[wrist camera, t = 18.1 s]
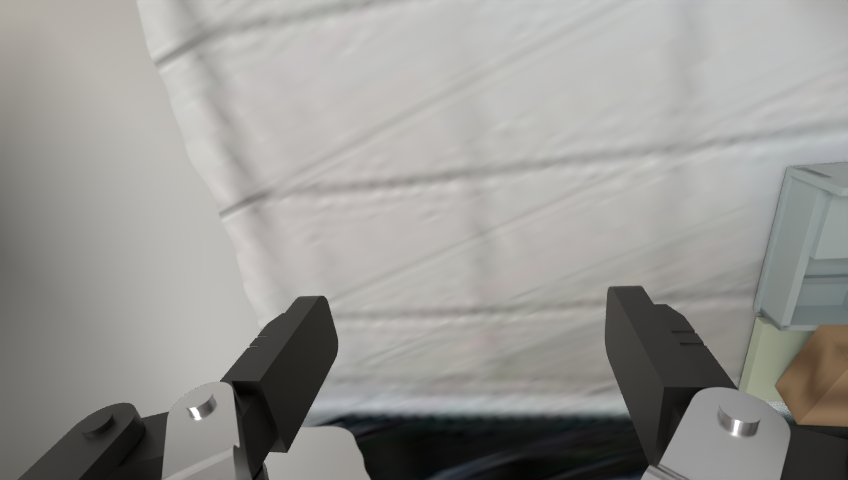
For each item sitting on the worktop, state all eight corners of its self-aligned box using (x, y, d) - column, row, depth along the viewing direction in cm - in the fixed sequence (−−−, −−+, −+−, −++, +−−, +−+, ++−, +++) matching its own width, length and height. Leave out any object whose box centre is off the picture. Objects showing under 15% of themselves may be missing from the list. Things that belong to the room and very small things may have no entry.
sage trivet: (756, 316, 40) (763, 324, 39) (876, 315, 38) (887, 322, 37) (737, 392, 44) (743, 400, 43) (845, 394, 42) (854, 403, 41)
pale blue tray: (787, 166, 34) (843, 188, 28) (901, 158, 32) (983, 178, 27) (752, 309, 40) (794, 349, 34) (848, 307, 38) (907, 348, 33)
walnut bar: (820, 324, 35) (852, 363, 32) (880, 324, 35) (918, 364, 31) (774, 386, 41) (797, 424, 38) (825, 387, 41) (852, 426, 38)
